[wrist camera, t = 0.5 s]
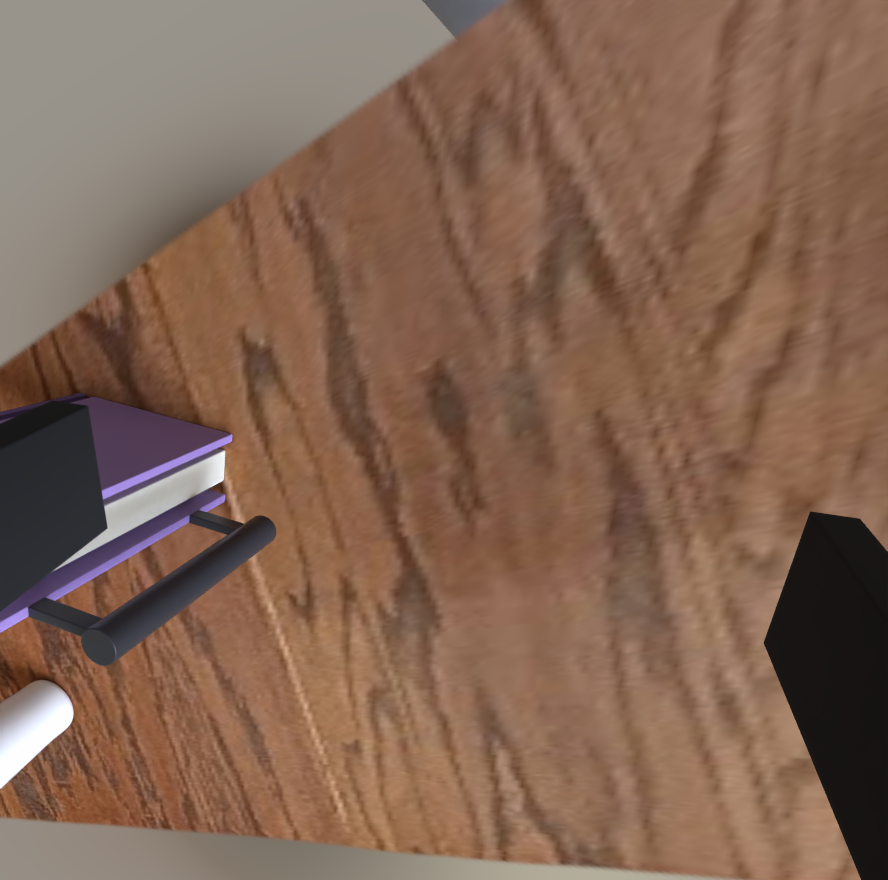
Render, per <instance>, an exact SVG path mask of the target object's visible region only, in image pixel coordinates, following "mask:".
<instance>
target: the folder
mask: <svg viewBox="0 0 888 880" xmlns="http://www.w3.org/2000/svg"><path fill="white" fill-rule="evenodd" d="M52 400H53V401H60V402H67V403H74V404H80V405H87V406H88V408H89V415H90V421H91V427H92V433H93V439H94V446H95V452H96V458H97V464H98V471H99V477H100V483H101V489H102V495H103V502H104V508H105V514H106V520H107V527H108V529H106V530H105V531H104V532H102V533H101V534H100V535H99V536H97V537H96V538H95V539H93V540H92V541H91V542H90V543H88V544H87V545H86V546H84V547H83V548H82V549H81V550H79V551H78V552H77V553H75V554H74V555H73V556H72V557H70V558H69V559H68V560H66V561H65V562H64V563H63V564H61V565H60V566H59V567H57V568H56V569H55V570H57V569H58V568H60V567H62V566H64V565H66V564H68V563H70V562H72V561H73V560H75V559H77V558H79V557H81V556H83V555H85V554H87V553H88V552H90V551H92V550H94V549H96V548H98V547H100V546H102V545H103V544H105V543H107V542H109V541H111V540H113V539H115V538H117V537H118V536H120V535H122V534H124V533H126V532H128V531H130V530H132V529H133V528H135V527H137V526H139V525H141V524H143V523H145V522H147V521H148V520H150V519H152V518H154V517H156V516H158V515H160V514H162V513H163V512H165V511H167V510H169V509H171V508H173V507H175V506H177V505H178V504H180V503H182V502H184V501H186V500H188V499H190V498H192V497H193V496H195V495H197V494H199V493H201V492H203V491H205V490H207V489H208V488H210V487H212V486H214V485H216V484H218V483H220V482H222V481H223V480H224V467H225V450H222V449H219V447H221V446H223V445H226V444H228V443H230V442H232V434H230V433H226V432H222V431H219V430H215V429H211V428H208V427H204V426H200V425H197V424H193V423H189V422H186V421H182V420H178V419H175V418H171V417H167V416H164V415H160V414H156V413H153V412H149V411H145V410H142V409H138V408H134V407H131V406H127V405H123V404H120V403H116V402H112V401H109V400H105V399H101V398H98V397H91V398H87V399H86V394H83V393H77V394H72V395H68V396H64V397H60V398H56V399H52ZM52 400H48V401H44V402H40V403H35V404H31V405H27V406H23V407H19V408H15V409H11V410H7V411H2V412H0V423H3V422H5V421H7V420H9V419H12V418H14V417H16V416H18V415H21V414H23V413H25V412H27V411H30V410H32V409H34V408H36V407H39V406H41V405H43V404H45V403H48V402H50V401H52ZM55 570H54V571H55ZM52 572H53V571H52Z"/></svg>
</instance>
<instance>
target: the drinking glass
mask: <svg viewBox="0 0 888 880" xmlns="http://www.w3.org/2000/svg"><path fill="white" fill-rule="evenodd" d="M73 713H74V712H73V706H72V703H71V701H70V699H69V697H68V695H67V694H66V693H65V692H64V690H63V689H62V688H60V687H59V686H58V685H56V684H55V683H53V682H50V681H47V680H37V681H34V682H31V683H30V684H28V685H27V686H25V687H24V688H22V689H21V690H19V691H18V692H16V693H15V694H13V695H12V696H10V697H9V698H7V699H5V700H4V701H2V702H0V789H1V788H2V787H3V786H4V785H5V784H6V783H8V782H9V781H10V780H11V779H12V778H13V777H14V776H15V775H16V774H17V773H18V772H19V771H20V770H21V769H22V768H23V767H24V766H25V765H27V764H28V763H29V762H30V761H31V760H32V759H33V758H34V757H35V756H36V755H37V754H38V753H39V752H40V751H41V750H42V749H44V748H45V747H46V746H47V745H48V744H49V743H50V742H51V741H52V740H53V739H55V738H56V737H57V736H58V735H60V734H61V733H62V732H63V731H64V730H66V729H67V728H68V727H69V725H70V724H71V722H72V720H73Z"/></svg>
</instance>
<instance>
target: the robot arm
mask: <svg viewBox="0 0 888 880" xmlns="http://www.w3.org/2000/svg"><path fill="white" fill-rule="evenodd" d="M106 529H108V527H107V520H106V514H105V508H104V502H103V495H102V489H101V483H100V477H99V471H98V464H97V458H96V452H95V446H94V439H93V433H92V427H91V421H90V415H89V408H88V406H87V405H80V404H74V403H67V402H60V401H53V400H52V401H50V402H48V403H45V404H43V405H41V406H39V407H36V408H34V409H32V410H30V411H27V412H25V413H23V414H21V415H18V416H16V417H14V418H12V419H9V420H7V421H5V422H3V423H0V612H1V611H2V610H3V609H5V608H6V607H7V606H8V605H10V604H11V603H12V602H14V601H15V600H16V599H17V598H19V597H20V596H21V595H23V594H24V593H25V592H27V591H28V590H29V589H30V588H32V587H33V586H34V585H36V584H37V583H38V582H39V581H41V580H42V579H43V578H45V577H46V576H47V575H48V574H50V573H51V572H52V571H54V570H55V569H56V568H57V567H59V566H60V565H61V564H63V563H64V562H65V561H66V560H68V559H69V558H70V557H72V556H73V555H74V554H75V553H77V552H78V551H79V550H81V549H82V548H83V547H84V546H86V545H87V544H88V543H90V542H91V541H92V540H93V539H95V538H96V537H97V536H99V535H100V534H101V533H102V532H104V531H105V530H106ZM764 645H765V647H766V650H767V652H768V654H769V657H770V659H771V662H772V664H773V667H774V669H775V671H776V674H777V676H778V679H779V681H780V684H781V686H782V688H783V691H784V693H785V696H786V698H787V701H788V703H789V705H790V708H791V710H792V713H793V715H794V718H795V720H796V722H797V725H798V727H799V730H800V732H801V735H802V737H803V739H804V742H805V744H806V747H807V749H808V752H809V754H810V756H811V759H812V761H813V764H814V766H815V769H816V771H817V774H818V776H819V778H820V781H821V783H822V786H823V788H824V791H825V793H826V795H827V798H828V800H829V803H830V805H831V808H832V810H833V812H834V815H835V817H836V820H837V822H838V825H839V827H840V829H841V832H842V834H843V837H844V839H845V842H846V844H847V846H848V849H849V851H850V854H851V856H852V859H853V861H854V863H855V866H856V868H857V871H858V873H859V876H860V878H861V880H888V552H887V551H886V550H885V548H884V547H883V546H882V545H881V544H880V542H879V541H878V540H877V539H876V538H875V536H874V535H873V534H872V533H871V532H870V530H869V529H868V528H867V527H866V526H865V524H864V523H863V522H862V521H861V520H860V519H858V518H851V517H844V516H837V515H830V514H823V513H817V512H810V514H809V516H808V519H807V522H806V525H805V528H804V531H803V533H802V536H801V539H800V542H799V545H798V547H797V550H796V553H795V556H794V559H793V562H792V564H791V567H790V570H789V573H788V576H787V579H786V581H785V584H784V587H783V590H782V593H781V595H780V598H779V601H778V604H777V607H776V610H775V612H774V615H773V618H772V621H771V624H770V626H769V629H768V632H767V635H766V638H765V641H764Z"/></svg>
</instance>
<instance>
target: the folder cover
mask: <svg viewBox="0 0 888 880" xmlns="http://www.w3.org/2000/svg"><path fill="white" fill-rule="evenodd" d="M223 502H225V494H222V493H219V492H216V491H212V490H209V489H207V490H205V491H203V492H201V493H199V494H197V495H195V496H193V497H192V498H190V499H188V500H186V501H184V502H182V503H180V504H178V505H177V506H175V507H173V508H171V509H169V510H167V511H165V512H163V513H162V514H160V515H158V516H156V517H154V518H152V519H150V520H148V521H147V522H145V523H143V524H141V525H139V526H137V527H135V528H133V529H132V530H130V531H128V532H126V533H124V534H122V535H120V536H118V537H117V538H115V539H113V540H111V541H109V542H107V543H105V544H103V545H102V546H100V547H98V548H96V549H94V550H92V551H90V552H88V553H87V554H85V555H83V556H81V557H79V558H77V559H75V560H73V561H72V562H70V563H68V564H66V565H64V566H62V567H60V568H58V569H57V570H55V571H53V572H51V573H50V574H48V575H47V576H46V577H45V578H43V579H42V580H41V581H39V582H38V583H37V584H36V585H34V586H33V587H32V588H30V589H29V590H28V591H27V592H25V593H24V594H23V595H21V596H20V597H19V598H17V599H16V600H15V601H14V602H12V603H11V604H10V605H8V606H7V607H6V608H5V609H3V610H2V611H1V612H0V633H1V632H2V631H4V630H6V629H7V628H9V627H11V626H13V625H14V624H16V623H18V622H19V621H21V620H23V619H25V618H26V617H28V616H29V617H31V618H34V619H36V620H39V621H42V622H44V623H47V624H49V625H52V626H55V627H57V628H60V629H63V630H65V631H68V632H70V633H73V634H76V635H78V636H81V644H82V647H83V650H84V652H85V653H86V655H87V656H88V657H89V658H90V659H91V660H92V661H93V662H95V663H96V664H98V665H102V666H107V665H111V664H112V663H114V662H115V661H116V660H117V659H119V658H120V657H121V656H123V655H124V654H125V653H127V652H128V651H129V650H131V649H132V648H133V647H134V646H136V645H137V644H138V643H140V642H141V641H142V640H144V639H145V638H146V637H148V636H149V635H150V634H151V633H153V632H154V631H155V630H157V629H158V628H159V627H161V626H162V625H163V624H165V623H166V622H167V621H168V620H170V619H171V618H172V617H174V616H175V615H176V614H178V613H179V612H180V611H182V610H183V609H184V608H185V607H187V606H188V605H189V604H191V603H192V602H193V601H195V600H196V599H197V598H199V597H200V596H201V595H202V594H204V593H205V592H206V591H208V590H209V589H210V588H212V587H213V586H214V585H215V584H217V583H218V582H219V581H221V580H222V579H223V578H225V577H226V576H227V575H229V574H230V573H231V572H232V571H234V570H235V569H236V568H238V567H239V566H240V565H242V564H243V563H244V562H246V561H247V560H248V559H249V558H251V557H252V556H253V555H255V554H256V553H257V552H259V551H260V550H261V549H263V548H264V547H265V546H266V545H268V544H269V543H270V542H272V541H273V540H274V538H275V536H276V528H275V525H274V524H273V522H272V521H271V520H270V519H269V518H267V517H265V516H256V517H254V518H252V519H251V520H249V521H248V522H246V523H245V524H243V523H240V522H236V521H233V520H230V519H227V518H224V517H220V516H217V515H214V514H211V513H207V512H208V511H209V510H211V509H213V508H214V507H216V506H218V505H220V504H221V503H223ZM189 522H190V523H192V524H195V525H198V526H202V527H205V528H208V529H211V530H214V531H217V532H221V533H224V534H227V536H225V537H224V538H222V539H221V540H219V541H218V542H216V543H215V544H213V545H212V546H210V547H209V548H207V549H206V550H205V551H203V552H202V553H200V554H199V555H197V556H196V557H194V558H193V559H191V560H190V561H188V562H187V563H185V564H184V565H182V566H181V567H179V568H178V569H176V570H175V571H173V572H172V573H170V574H169V575H167V576H166V577H164V578H163V579H161V580H160V581H158V582H157V583H155V584H154V585H152V586H151V587H149V588H148V589H146V590H145V591H143V592H142V593H140V594H139V595H137V596H136V597H134V598H133V599H131V600H130V601H128V602H127V603H125V604H124V605H122V606H121V607H119V608H118V609H116V610H115V611H113V612H112V613H110V614H109V615H107V616H106V617H104V618H103V619H102V618H100V617H97V616H94V615H91V614H89V613H86V612H83V611H81V610H78V609H75V608H73V607H70V606H67V605H64V604H62V603H59V602H56V601H55V600H57V599H59V598H60V597H62V596H64V595H66V594H67V593H69V592H71V591H72V590H74V589H76V588H78V587H79V586H81V585H83V584H84V583H86V582H88V581H90V580H91V579H93V578H95V577H96V576H98V575H100V574H102V573H103V572H105V571H107V570H108V569H110V568H112V567H113V566H115V565H117V564H119V563H120V562H122V561H124V560H125V559H127V558H129V557H131V556H132V555H134V554H136V553H137V552H139V551H141V550H143V549H144V548H146V547H148V546H149V545H151V544H153V543H155V542H156V541H158V540H160V539H161V538H163V537H165V536H167V535H168V534H170V533H172V532H173V531H175V530H177V529H178V528H180V527H182V526H184V525H185V524H187V523H189Z"/></svg>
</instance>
